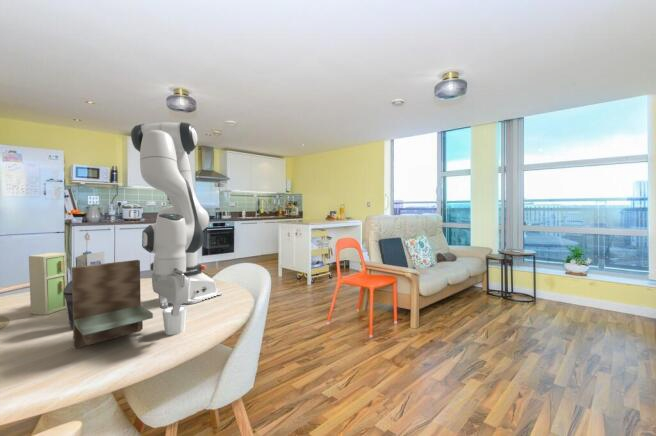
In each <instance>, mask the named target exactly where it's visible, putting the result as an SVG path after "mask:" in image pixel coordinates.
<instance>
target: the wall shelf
mask: <svg viewBox="0 0 656 436" xmlns="http://www.w3.org/2000/svg"><path fill="white" fill-rule="evenodd" d="M71 281H72V301H73V330H72V333H73V334H72V335H73V337H72V338H73V348H74V349H80V348H82V347H86V346H89V345H94V344H98V343H101V342H104V341H108V340H112V339H116V338H120V337H123V336H127V335H131V334H135V333H139V332H142V331H143V329H144V328H143V326H144V325H143V321H147V320H150V319H153V318H154V317H153V316H154V313H153V312H152V311H150V310H149V309H147V308H146V307H144V306H142V305H141V301H142V300H141V260H140V259H134V260H133V259H132V260H125V261H117V262H116V261H115V262H108V263H107V262H106V263H105V262H104V264H97V265H88V266H79V267H76V266H72V267H71Z"/></svg>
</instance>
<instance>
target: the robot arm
mask: <svg viewBox="0 0 656 436" xmlns="http://www.w3.org/2000/svg"><path fill="white" fill-rule="evenodd" d="M130 140H131V143H132V145H133V147H134V149H135V150H136V151H138V152H139V170H140V175H141V178H142V179H143V181H144V182H146V183H147V184H148V185H149V186H150V187H152V188H154V189H156V190H157V191H161V192H163V193H164V194H165V195H166V196H167V198H168V199H169V201H170V203H171V205H168V206H166V207H163V208H161V209H160V210H159V211H158V213H157V215H156V221H155V223H153V224H149V225H148V226H146V227H144V229H143V230H142V235H141V237H142V238H141V239H142V241H141V247H142V248H143V249H144V250H145V251H146V252H148V253H151V254H154V256H153V262H151V263H150V265H149V267H150V268H149V269H150V271H151V284H152V291H153V293H156V294H157V295H158V300H159V309H161V310H164V309H166V308H168V307H169V306H168V305H169V304H170V305H172V307H173V309H172V310H171V315H172V316H174V317H175V316H178V315H179V310H180V307H181V306H183V305H182V304H188V305H193V304H197V303H200V302H203V301H202V300H204V301H206V300H205V299H207V300H209V299H208V298H210V299H212V298H211V297H213V296H216V295H219V294H221V293H222V290H220V289H218V288H217V284H216V282H215V280H214V279H213V278H212V277H210V276H208V275H207V274H206V273H204V272H202V271H206V270H207V265H205V264H199V263H198V251H199V249H201V248H202V246H203V245H204V243H205V235H204V232H203V231H204V230H206V228H208V226H209V222H210V216H209V213H208V211H207V210H206V209H205V208H203V206H202V205H201V203H200V202H199V200H198V197H197V194H196V192H195V188H194V183H193V175H192V168H191V164H190V160H189V156H190V154H191V153H192V152H193V151H194V150H195V149H196V148H197V145H198V134H197V132H196V129H195V127H194V126H193V125H192V124H191V123H189V122H174V121H173V122H172V121H171V122H169V121H166V122H165V121H162V122H154V123H147V124H145V123H141V124H138V125H134V126H133V128H132V129H131V131H130ZM222 294H223V293H222ZM216 297H217V296H216ZM213 298H214V297H213Z"/></svg>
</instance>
